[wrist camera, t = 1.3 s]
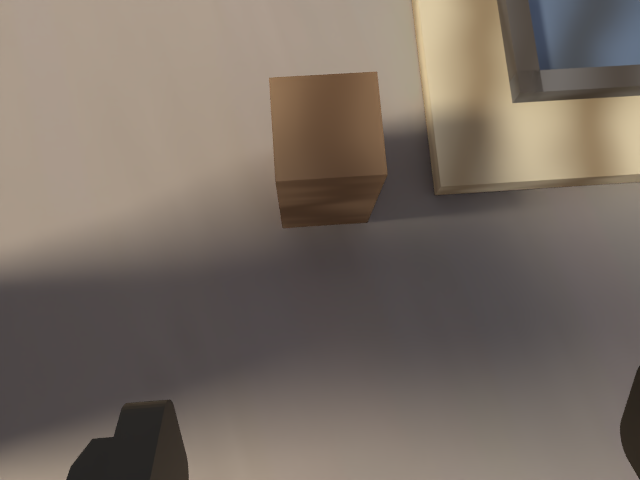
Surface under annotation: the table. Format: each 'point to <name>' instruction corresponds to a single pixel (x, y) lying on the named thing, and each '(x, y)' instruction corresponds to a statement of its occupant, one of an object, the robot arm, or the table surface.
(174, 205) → the table surface
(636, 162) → the base board
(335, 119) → the walnut block
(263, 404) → the table surface
